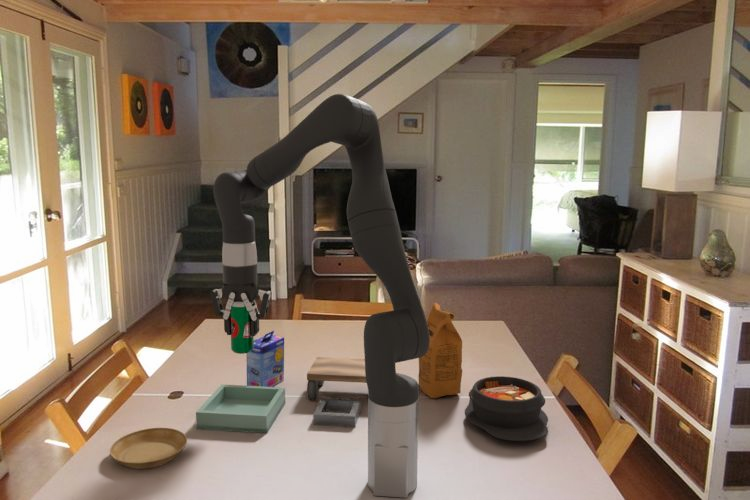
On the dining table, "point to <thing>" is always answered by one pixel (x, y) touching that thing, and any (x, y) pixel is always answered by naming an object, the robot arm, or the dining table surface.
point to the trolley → (334, 372)
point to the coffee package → (441, 356)
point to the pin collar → (337, 418)
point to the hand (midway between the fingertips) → (242, 334)
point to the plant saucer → (148, 447)
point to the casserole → (508, 408)
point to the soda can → (240, 328)
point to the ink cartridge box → (266, 361)
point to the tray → (241, 408)
